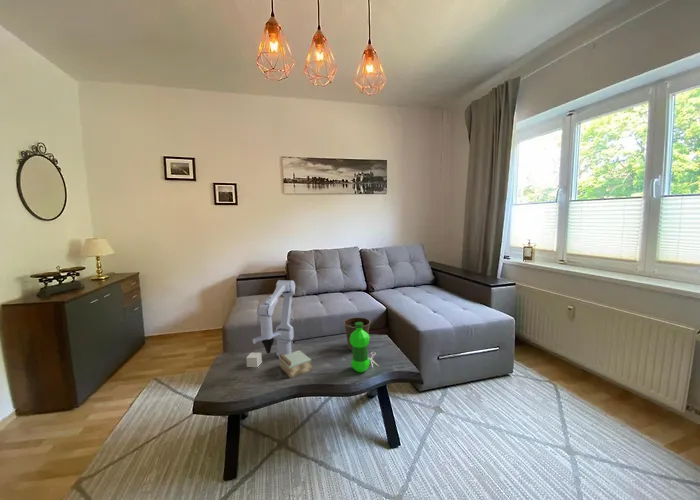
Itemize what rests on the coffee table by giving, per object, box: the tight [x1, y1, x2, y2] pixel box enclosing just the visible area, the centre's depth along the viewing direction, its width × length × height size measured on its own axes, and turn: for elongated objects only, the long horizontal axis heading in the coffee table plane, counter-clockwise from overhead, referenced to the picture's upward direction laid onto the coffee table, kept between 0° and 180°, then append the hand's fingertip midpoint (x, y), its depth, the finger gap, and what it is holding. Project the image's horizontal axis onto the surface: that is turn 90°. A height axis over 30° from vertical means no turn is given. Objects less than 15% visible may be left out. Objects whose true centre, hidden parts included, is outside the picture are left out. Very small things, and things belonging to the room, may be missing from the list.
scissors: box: [368, 351, 379, 369], centre depth 160 cm, size 11×1×20 cm
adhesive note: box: [245, 352, 263, 368], centre depth 158 cm, size 6×6×6 cm
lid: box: [278, 350, 312, 368], centre depth 153 cm, size 12×14×3 cm
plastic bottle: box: [349, 322, 371, 373], centre depth 149 cm, size 10×10×25 cm
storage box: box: [278, 358, 313, 379], centre depth 153 cm, size 12×14×5 cm
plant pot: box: [343, 316, 371, 351], centre depth 175 cm, size 16×16×16 cm
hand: (268, 352), depth 150 cm, fingers closed
